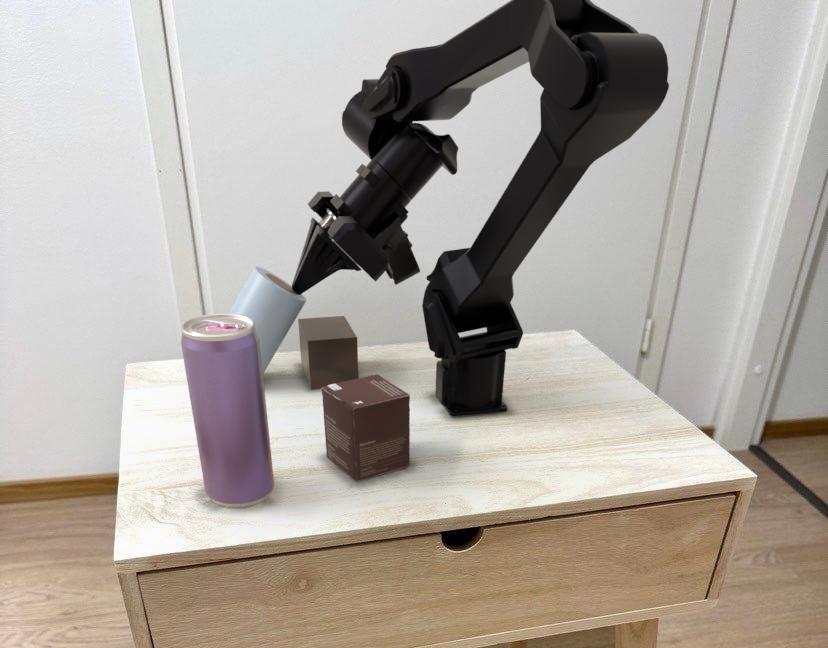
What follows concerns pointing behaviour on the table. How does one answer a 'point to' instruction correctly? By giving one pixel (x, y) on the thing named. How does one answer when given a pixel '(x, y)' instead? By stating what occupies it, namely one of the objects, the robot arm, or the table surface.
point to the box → (367, 426)
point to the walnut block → (328, 350)
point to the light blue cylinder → (269, 309)
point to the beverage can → (228, 407)
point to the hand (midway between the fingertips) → (294, 291)
